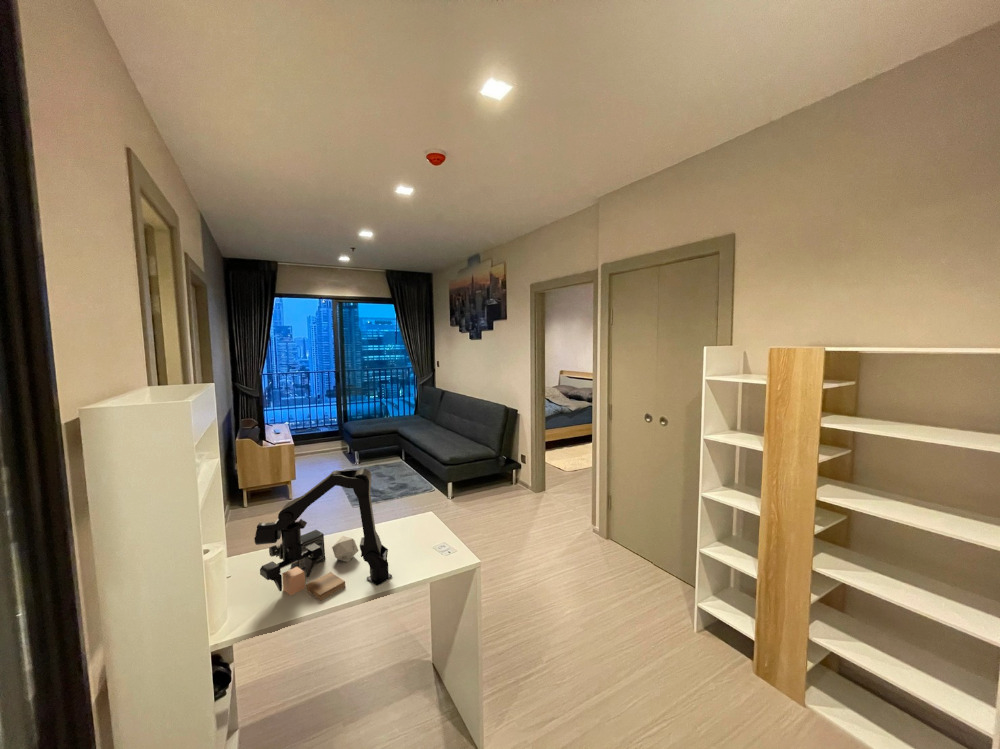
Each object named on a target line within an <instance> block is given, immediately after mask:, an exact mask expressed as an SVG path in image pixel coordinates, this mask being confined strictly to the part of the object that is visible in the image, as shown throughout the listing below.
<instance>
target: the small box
mask: <svg viewBox="0 0 1000 749" xmlns="http://www.w3.org/2000/svg"><path fill="white" fill-rule="evenodd" d="M324 537H325V536H324V533H323V532H321V531H319V530H318V529H314V530H312V531H309V532H307V533H304V534H301V542H302V543H303V546H302V552H304V548H305V547H307V546H309V545H311V544H313V543H315V544H317V545H318V546H320V547H322V549H323V555H322V556H320V558H319V559H318V560H317V561H316V563H315V565H316V564H319V563H320V562H323V561H325V560H326V558H327V557H326V552H325V550H326V549H325V538H324ZM290 567H292V569H293V568H295V567H298V568H300V569H301V570H303V571H304V570H306V569H305V558H303V559H301V560H299V561H297V562H295V563H293V564H290Z"/></svg>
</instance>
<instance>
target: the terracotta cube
mask: <svg viewBox="0 0 1000 749" xmlns="http://www.w3.org/2000/svg"><path fill="white" fill-rule="evenodd" d="M281 575H282V590H283V591H284V592H286V594H288V595H289V596H293V595H295V594H296V593H298V592H300V591H302V590H304V589H306V572H305V570H304V569H303V570H301V569H300V568H298V567H295V568H293V567H292V568H291V569H288V570H286V571H285V572H282V574H281Z"/></svg>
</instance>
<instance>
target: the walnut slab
mask: <svg viewBox="0 0 1000 749" xmlns="http://www.w3.org/2000/svg"><path fill="white" fill-rule="evenodd" d="M345 587H346V581H345V580H344V579H342V578H341V577H339V576H338V575H336V574H334V573H333V572H332V571H330V572H328V573H326V574H324V575H322V576H319V577H318V578H316V579H315V580H312V581H311V582H307V583H305V590H306V592H308V593H309V594H311V595H312V596H314V597H315V598H316V599H317V600H319V601H322V600H323V601H324V599H326V598H328V597H330V596H332V595H334V594H335V593H337V592H339V591H341V590H342V589H344V588H345Z"/></svg>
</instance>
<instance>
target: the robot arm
mask: <svg viewBox="0 0 1000 749" xmlns="http://www.w3.org/2000/svg"><path fill="white" fill-rule="evenodd" d="M335 486H338V487H342V488H345V489H353V493H354V495H355V496H356V498H357V500H358V507H359V512H360V519H361V526H362V532H363V537H361V538H360V542H359V549H360V553H361V554H360V557H361V558H363V561H364V562H366V563H367V564H368V566H369V576H367V577H366V580H367V581H368V582H371V583H372V584H374V585H376V586H380V585H381V584H383V583H385V582H386V581H388V580H390V579H391V578H392V577H393V574H391V573H389V561H388V553H389V549H388V548H387V547H386V546H385V545H383V544H382V541H381V538H380V535H379V534H378V532H377V531H376V524H375V518H374V511H373V505H372V498H371V486H372V473H371V471H370V470H368V469H367V468H360V469H347V470H338V469H337V470H333V471H332V472H330V474H329V475H327V476H326V477H325V478H324V479H322V480H320V481H319V483H317V484H315V485H314V486H313V487H312V488H311V489H310V490H308V491H307V492H306V493H304V494H302V495H301V496H299V497H296V498H294V499H292V500H290V501H288V502H287V503H285V504H284V506H283V507H282V509H281V510H280V511H279V513H278V515H277V519H276V521H273V522H258V524H257V526H256V530H255V535H254V536H255V537H253V538H254V539H253V540H254V544H255V546H259V545H268V544H269V545H270V544H275V545H272V546H269V548H268V552H269V556H270V557H276V558H279V560H282V561H280V562H278V563H276V562H274V561H270V562H268V563H266V564H264V565H263V564H262V565H261V567H260V569H259V574H260V575H261V576H262V577H263V578H264V579H265V580H267V581H269V580H271V581H273V582H274V584H275V586H276V588H277V590H278V591H279V592H280V593H281V592H283V591H282V590H283V576H282V574H281V572H282V571H281V570H283V569H284V568H286V567H288V566H291V564H293V563H295V562H297V561H299V560H301V559H303V558H305V569H304V570H305V578H307V579H309V577H310V575H311V573H312V571H313V568H314V567H315V565H316V564H317V563H316V561H317V560H318V559H319V558H320V556H322V555H323V549H322V547H320V546H318V545H317V544H315V543H313V544H311V545H309V546H307V547H305V548H304V552H302V546H303V543H302V542H301V535H302V533H301V530H303V529H305V527H306V526H307V524H308V522H307V521H306V520H303V519H302V518H300V517H301V515H302V514H303V513H305V511H306V510H307V508H308V507H310V506H311V505H312V504H314V503H315V502H316V501H318V500H319V499H320V498H321V497H323V496H324V495H325V494H326V493H328V492H329V491H330V490H332V489H333V488H334V487H335ZM298 519H299V520H298ZM280 539H281V543H280V544H279V545H278V546H277V545H276V543H277V542H278V540H280ZM315 563H316V564H315Z"/></svg>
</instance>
